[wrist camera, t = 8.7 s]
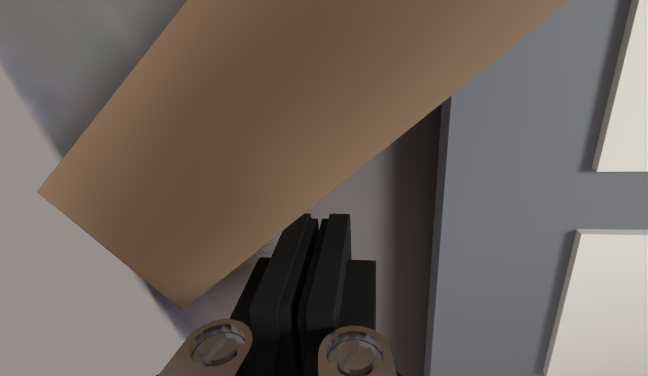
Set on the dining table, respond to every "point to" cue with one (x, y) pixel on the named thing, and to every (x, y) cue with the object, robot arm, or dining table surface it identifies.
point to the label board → (546, 205)
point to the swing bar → (264, 121)
